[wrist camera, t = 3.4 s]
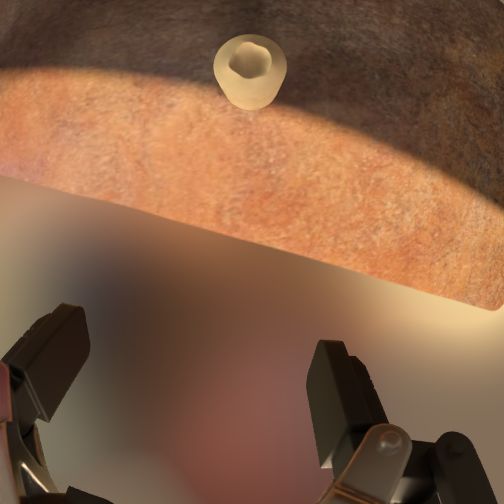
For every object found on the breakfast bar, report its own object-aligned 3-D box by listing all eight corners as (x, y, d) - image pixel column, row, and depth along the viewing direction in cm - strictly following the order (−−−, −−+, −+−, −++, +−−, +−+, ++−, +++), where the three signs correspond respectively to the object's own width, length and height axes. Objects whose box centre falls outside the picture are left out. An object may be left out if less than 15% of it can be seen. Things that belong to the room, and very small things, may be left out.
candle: (228, 114, 29) (217, 101, 19) (220, 66, 27) (205, 35, 18) (282, 106, 28) (295, 89, 19) (273, 58, 27) (281, 23, 17)
